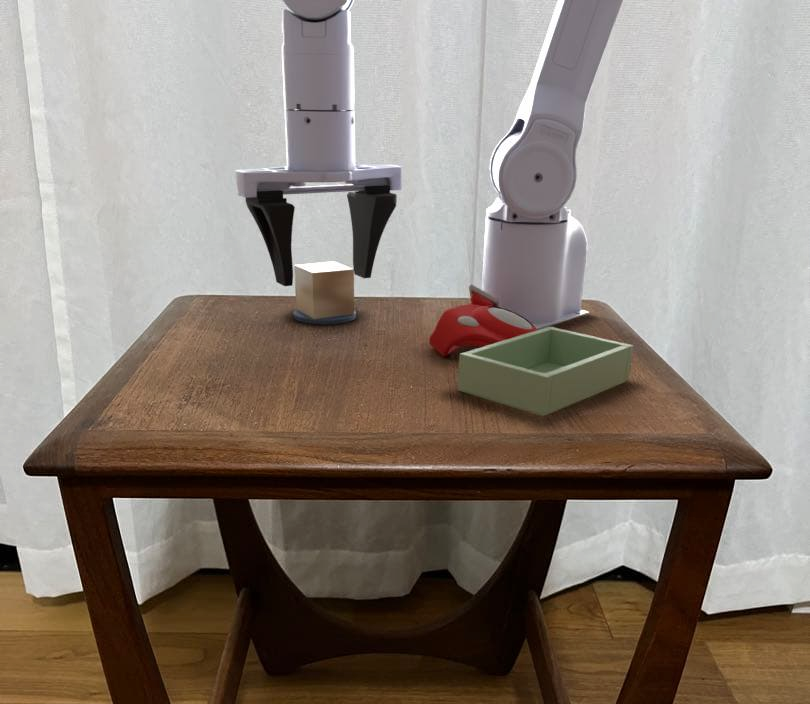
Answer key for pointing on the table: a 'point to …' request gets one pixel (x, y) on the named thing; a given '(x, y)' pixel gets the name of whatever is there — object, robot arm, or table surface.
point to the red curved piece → (477, 324)
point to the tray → (544, 369)
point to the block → (324, 289)
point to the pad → (323, 319)
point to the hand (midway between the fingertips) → (324, 280)
